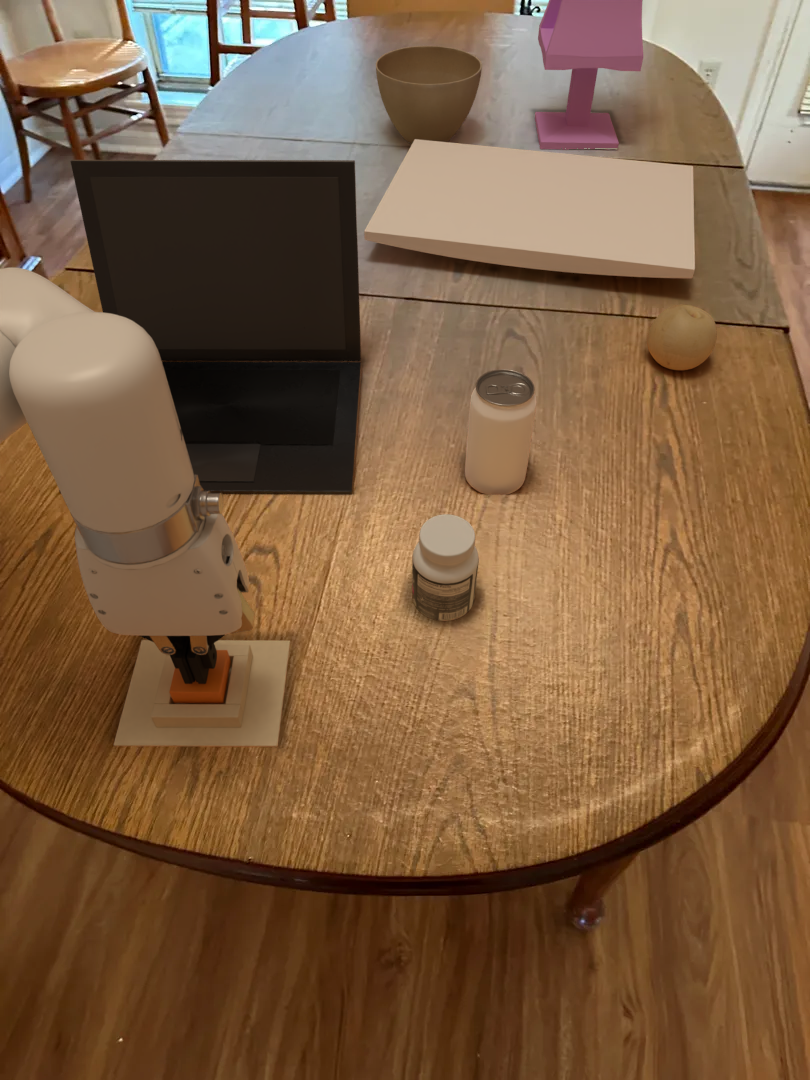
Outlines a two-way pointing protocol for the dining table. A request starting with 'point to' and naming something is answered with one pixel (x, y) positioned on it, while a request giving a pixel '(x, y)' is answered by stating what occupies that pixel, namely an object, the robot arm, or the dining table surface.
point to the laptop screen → (228, 255)
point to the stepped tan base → (230, 724)
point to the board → (540, 210)
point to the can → (500, 432)
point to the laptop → (269, 425)
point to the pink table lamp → (586, 65)
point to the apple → (682, 337)
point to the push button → (203, 692)
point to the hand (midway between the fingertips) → (199, 668)
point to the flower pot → (428, 90)
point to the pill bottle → (445, 568)
